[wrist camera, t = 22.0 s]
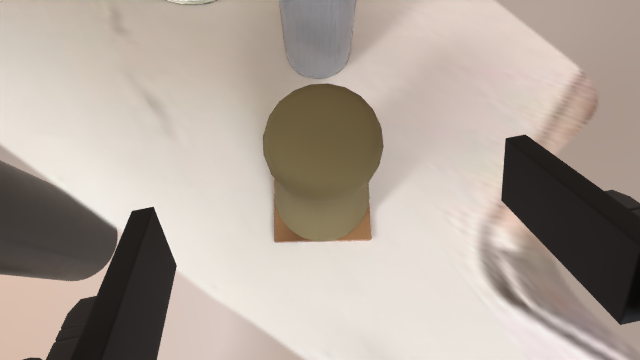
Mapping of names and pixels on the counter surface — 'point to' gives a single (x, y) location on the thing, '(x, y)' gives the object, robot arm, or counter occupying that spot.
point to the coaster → (287, 235)
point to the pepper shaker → (322, 159)
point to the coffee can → (191, 1)
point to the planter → (317, 35)
